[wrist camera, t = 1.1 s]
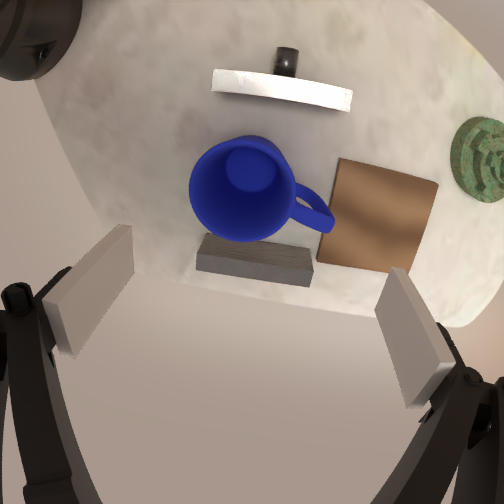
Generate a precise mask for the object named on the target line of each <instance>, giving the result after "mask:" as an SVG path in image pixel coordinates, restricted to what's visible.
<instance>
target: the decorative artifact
mask: <svg viewBox="0 0 504 504" xmlns="http://www.w3.org/2000/svg"><path fill="white" fill-rule="evenodd" d="M450 160H451V168H452V172H453V175H454V178H455V180H456V182H457V183H458V185H459V186H460V187H461V188H462V189H463V190H464V191H465V192H466V193H468V194H470V195H471V196H473V197H474V198H476V199H477V200H479V201H481V202H485V203H492V202H496V201H498V200H500V199H502V198H503V197H504V124H503V123H502V122H500V121H498V120H494V119H489V118H485V117H474V118H471V119H469V120H467V121H466V122H465V123H464V124H462V126H461V127H460V128H459V129H458V131H457V132H456V134H455V137H454V139H453V142H452V146H451V154H450Z"/></svg>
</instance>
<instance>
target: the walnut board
mask: <svg viewBox="0 0 504 504" xmlns="http://www.w3.org/2000/svg"><path fill="white" fill-rule="evenodd" d="M438 186H439V185H438V184H437V183H435V182H432V181H429V180H425V179H422V178H419V177H415V176H412V175H408V174H404V173H401V172H397V171H393V170H389V169H385V168H381V167H377V166H373V165H369V164H365V163H360V162H356V161H352V160H347V159H342V158H339V162H338V166H337V171H336V176H335V180H334V185H333V190H332V194H331V198H330V203H329V207H328V208H329V209H330V211H331V213H332V214H333V216H334V218H335V225H334V227H333V229H332V230H331V232H330V233H328V234H326V233H322V236H321V240H320V244H319V248H318V252H317V256H316V260H317V262H320V263H327V264H333V265H340V266H346V267H353V268H359V269H366V270H372V271H379V272H385V273H389V272H390V270H391V267H396V268H402V269H405V271H406V272H407V274H408V273H409V271H410V268H411V266H412V263H413V261H414V258H415V255H416V253H417V250H418V247H419V245H420V242H421V239H422V236H423V233H424V230H425V227H426V225H427V222H428V219H429V215H430V212H431V209H432V206H433V203H434V199H435V196H436V193H437V189H438Z"/></svg>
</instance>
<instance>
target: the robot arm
mask: <svg viewBox="0 0 504 504" xmlns="http://www.w3.org/2000/svg"><path fill="white" fill-rule="evenodd" d="M81 8H82V1H81V0H0V77H3V78H5V79H8V80H11V81H23V80H31V79H35V78H37V77H39V76H41V75H43V74H45V73H46V72H47V71H49V70H50V69H51V68H52V67H53V66H54V65H55V64H56V63H57V62H58V61H59V60H60V58H61V57H62V56H63V54H64V53H65V51H66V50H67V48H68V47H69V45H70V43H71V41H72V39H73V37H74V35H75V33H76V30H77V27H78V24H79V20H80V16H81ZM133 274H134V262H133V244H132V226H127V225H120V224H118V225H117V226H116V227H115V228H114V229H113V230H112V231H110V232H109V233H108V234H107V235H106V236H105V237H104V238H103V239H102V240H101V241H100V242H99V243H98V244H96V246H94V247H93V248H92V249H91V250H90V251H89V252H88V253H87V254H86V255H85V256H84V257H83V258H82V259H81V260H80V261H79V262H78V263H77V264H76V265H75V266H74V267H70V266H69V267H66V268H65V269H63V270H61V271H59V272H58V273H57V274H56V275H55V276H54V277H53V279H51V280H50V281H49V282H48V284H46V285H45V286H44V287H43V288H42V289H41V290H40V291H39V292H38V293H37V294H36V295H35V296H34V297H33V294H32V291H31V288H30V285H28V284H27V283H23V282H19V283H14V284H11V285H9V286H8V287H6V288H5V289H4V290H3V291H2V293H1V298H2V301H3V304H4V307H5V310H0V504H3V497H2V444H3V443H2V442H3V429H4V418H5V409H6V401H7V394H8V387H9V388H10V397H11V405H12V412H13V419H14V426H15V431H16V436H17V442H18V447H19V451H20V456H21V460H22V464H23V468H24V472H25V476H26V480H27V484H26V485H25V486H24V487H23V495H24V500H25V503H26V504H103V503H102V502H101V500H100V498H99V496H98V494H97V491H96V489H95V487H94V485H93V482H92V480H91V478H90V475H89V473H88V470H87V468H86V465H85V463H84V460H83V458H82V455H81V452H80V449H79V447H78V444H77V441H76V438H75V435H74V432H73V429H72V426H71V423H70V419H69V416H68V412H67V409H66V406H65V402H64V398H63V395H62V390H61V386H60V382H59V378H58V374H57V369H56V364H55V360H54V355H53V353H52V349H53V347H54V346H55V345H57V347H58V350H59V353H60V354H61V355H64V356H67V357H69V358H72V359H75V358H76V357H77V355H78V354H79V352H80V350H81V349H82V347H83V346H84V345H85V343H86V341H87V340H88V338H89V337H90V335H91V334H92V332H93V331H94V329H95V328H96V327H97V325H98V324H99V322H100V321H101V319H102V318H103V316H104V315H105V313H106V312H107V310H108V309H109V308H110V306H111V304H112V303H113V302H114V300H115V299H116V298H117V296H118V295H119V293H120V292H121V290H122V289H123V288H124V286H125V285H126V284H127V282H128V281H129V279H130V278H131V277H132V275H133ZM375 313H376V316H377V319H378V321H379V324H380V327H381V330H382V333H383V335H384V338H385V341H386V344H387V347H388V350H389V353H390V355H391V359H392V362H393V365H394V369H395V371H396V375H397V378H398V381H399V385H400V388H401V391H402V394H403V398H404V402H405V405H406V408H407V409H421V408H423V406H424V405H425V404H426V403H427V401H428V400H430V403H431V406H432V407H431V408H430V409H429V410H428V411H427V413H426V414H425V415H424V416H423V417H422V418H421V419H420V421H419V423H421V422H422V423H421V425H420V427H419V428H418V430H417V432H416V434H415V436H414V438H413V439H412V441H411V443H410V444H409V446H408V448H407V450H406V451H405V453H404V455H403V456H402V458H401V460H400V461H399V463H398V464H397V466H396V467H395V469H394V471H393V472H392V474H391V475H390V477H389V478H388V480H387V481H386V482H385V484H384V485H383V487H382V488H381V490H380V491H379V493H378V494H377V495H376V497H375V498H374V499H373V501H372V502H371V503H370V504H441V501H442V499H443V498H444V495H445V493H446V491H447V489H448V487H449V485H450V483H451V480H452V478H453V476H454V474H455V471H456V469H457V466H458V472H457V478H456V483H455V488H454V493H453V498H452V502H451V504H504V377H500V378H499V379H498V381H496V383H495V384H490V383H487V382H484V381H483V378H482V376H481V375H480V374H479V372H477V371H476V370H475V369H473V368H471V367H466V366H465V364H464V362H463V360H462V358H461V356H460V354H459V352H458V350H457V348H456V346H454V345H455V344H454V343H453V341H452V340H451V337H450V335H449V333H448V331H447V330H446V329H445V328H444V327H443V326H442V325H441V324H440V323H438V322H435V320H434V319H433V317H432V315H431V313H430V311H429V310H428V308H427V306H426V304H425V303H424V301H423V299H422V297H421V296H420V294H419V292H418V291H417V289H416V287H415V285H414V284H413V282H412V281H411V279H410V277H409V276H408V274H407V272H406V271H405V269H402V268H396V267H391V270H390V272H389V275H388V278H387V280H386V283H385V285H384V288H383V290H382V293H381V295H380V298H379V300H378V303H377V305H376V307H375ZM490 426H491V428H490ZM458 464H459V465H458Z"/></svg>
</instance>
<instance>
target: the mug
mask: <svg viewBox="0 0 504 504" xmlns="http://www.w3.org/2000/svg"><path fill="white" fill-rule="evenodd" d="M296 196H297V197H299V198H301V199H303V200H304V201H306V202H307V203H308V204H309V205H310V206H311V207H312V208H313V209H311V208H308V207H306V206H304V205H302V204H300V203H299V202H297V201H296ZM189 197H190V202H191V205H192V208H193V210H194V213H195V214H196V216H197V218H198V219H199V220H200V222H201V223H202V224H203V225H204V226H205V227H206V228H207V229H208V230H210V231H211V232H212V233H214V234H216V235H217V236H219V237H221V238H224V239H227V240H230V241H235V242H253V241H258V240H261V239H264V238H266V237H269V236H270V235H272V234H274V233H275V232H277V231H278V230H279V229H280V228H281V227H282V226H283V225H284V224H285V223H286V222H287V220H288V219H289V217H290V218H292V219H294V220H296V221H297V222H299V223H301V224H303V225H305V226H308V227H310V228H312V229H314V230H317V231H320V232H322V233H326V234H328V233H330V232H331V230H332V229H333V227H334V225H335V218H334V216H333V214H332V213H331V211H330V209H329V208H328V206H327V205H326V204H325V202H324V201H323V200H322V199H321V198H320V197H319V196H318V195H317V194H316V193H315V192H313V191H312V190H311V189H309V188H307V187H305V186H303V185H301V184H298V183H295V179H294V175H293V173H292V171H291V169H290V167H289V165H288V163H287V162H286V160H285V158H284V157H283V155H282V153H281V152H280V150H279V149H278V148H277V147H276V146H275V145H274V144H273V143H272V142H270V141H269V140H267V139H265V138H263V137H259V136H254V135H248V136H241V137H238V138H235V139H232V140H229V141H225V142H223V143H220V144H218V145H216V146H214V147H212V148H211V149H209V150H208V151H207V152H206V153H205V154H204V155H203V156H202V157H201V158H200V159H199V160H198V162H197V163H196V165H195V167H194V169H193V171H192V174H191V177H190V182H189Z"/></svg>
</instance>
